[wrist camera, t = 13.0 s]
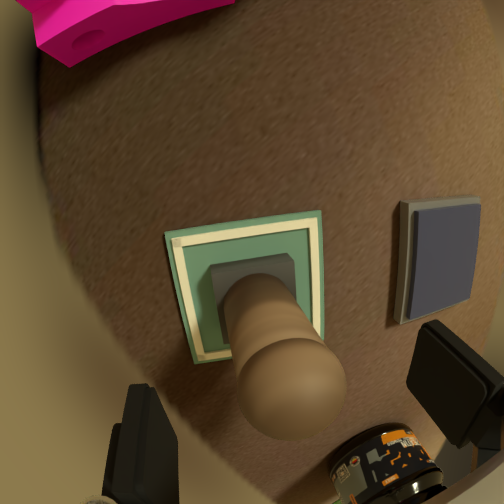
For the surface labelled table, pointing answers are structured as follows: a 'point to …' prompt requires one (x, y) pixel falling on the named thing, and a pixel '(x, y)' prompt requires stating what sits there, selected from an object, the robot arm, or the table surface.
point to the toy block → (101, 22)
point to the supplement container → (385, 468)
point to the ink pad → (436, 254)
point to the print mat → (238, 248)
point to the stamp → (276, 349)
